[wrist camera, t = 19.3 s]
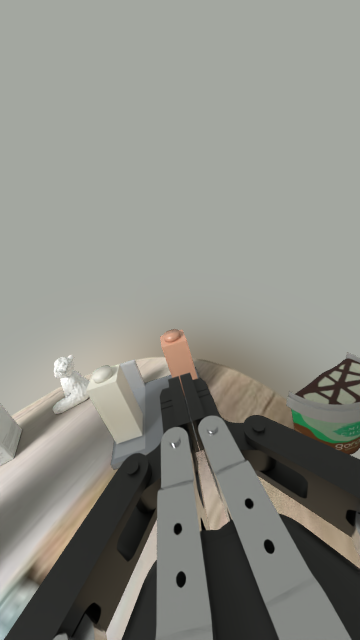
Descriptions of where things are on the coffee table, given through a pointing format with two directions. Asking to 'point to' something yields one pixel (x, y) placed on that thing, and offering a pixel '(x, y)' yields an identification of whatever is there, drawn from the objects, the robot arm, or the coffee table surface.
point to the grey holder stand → (151, 411)
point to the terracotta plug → (177, 354)
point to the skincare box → (8, 436)
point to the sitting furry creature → (69, 384)
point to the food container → (331, 407)
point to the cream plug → (115, 403)
